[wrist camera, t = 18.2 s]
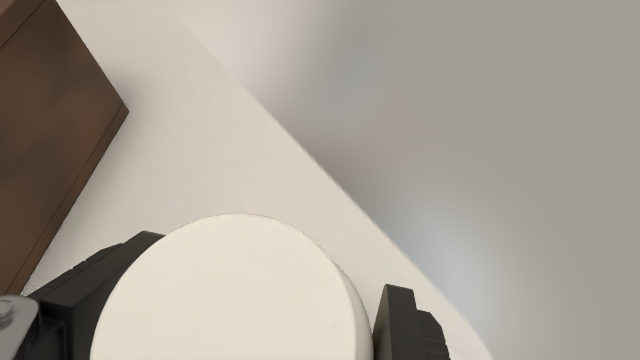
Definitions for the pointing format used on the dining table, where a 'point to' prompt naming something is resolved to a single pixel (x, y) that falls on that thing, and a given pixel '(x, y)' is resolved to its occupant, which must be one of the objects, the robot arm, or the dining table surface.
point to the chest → (47, 134)
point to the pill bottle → (234, 298)
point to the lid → (14, 15)
